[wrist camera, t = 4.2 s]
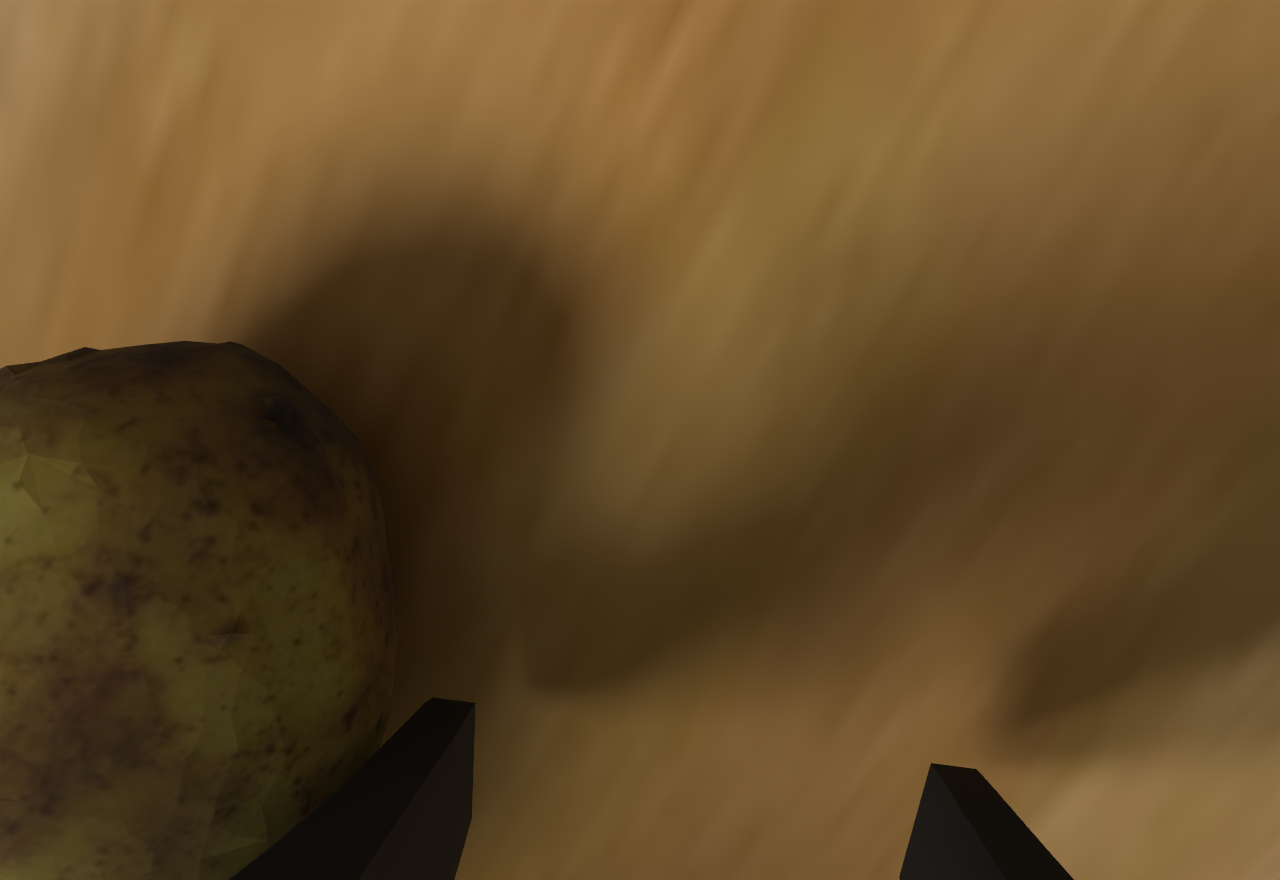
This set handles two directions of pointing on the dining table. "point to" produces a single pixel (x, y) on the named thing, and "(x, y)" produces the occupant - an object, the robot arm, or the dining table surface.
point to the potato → (181, 611)
